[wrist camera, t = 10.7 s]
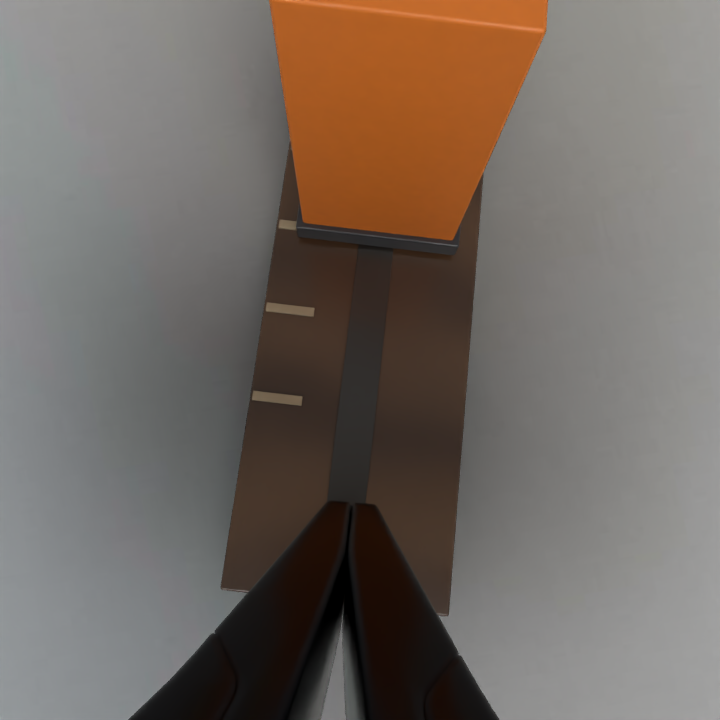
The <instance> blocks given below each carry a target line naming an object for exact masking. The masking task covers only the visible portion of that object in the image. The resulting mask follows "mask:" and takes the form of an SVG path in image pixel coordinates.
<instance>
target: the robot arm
mask: <svg viewBox="0 0 720 720" xmlns="http://www.w3.org/2000/svg"><path fill="white" fill-rule="evenodd" d="M343 605H344V606H343ZM342 616H343V623H342ZM341 624H342V644H343V668H344V691H345V715H346V720H499V718H498V717H497V715H496V714H495V712H494V711H493V709H492V708H491V706H490V704H489V703H488V701H487V699H486V698H485V696H484V694H483V693H482V691H481V689H480V688H479V686H478V684H477V683H476V681H475V679H474V678H473V676H472V674H471V672H470V671H469V669H468V667H467V665H466V663H465V662H464V660H463V658H462V657H461V656H460V655H458V654H459V653H458V650H457V649H456V647H455V645H454V643H453V641H452V640H451V638H450V636H449V634H448V632H447V631H446V629H445V627H444V625H443V623H442V622H441V620H440V618H439V616H438V614H437V613H436V611H435V609H434V607H433V606H432V604H431V602H430V600H429V598H428V597H427V595H426V593H425V591H424V589H423V588H422V586H421V584H420V582H419V580H418V579H417V577H416V575H415V573H414V571H413V570H412V568H411V566H410V564H409V562H408V561H407V559H406V557H405V555H404V553H403V552H402V550H401V548H400V546H399V544H398V543H397V541H396V539H395V537H394V535H393V534H392V532H391V530H390V528H389V527H388V525H387V523H386V521H385V519H384V518H383V516H382V514H381V512H380V510H379V509H378V507H377V506H376V505H375V504H369V503H357V502H356V503H353V505H352V509H351V503H349V502H345V501H333V500H330V501H327V502H326V503H325V504H324V505H323V507H322V508H321V509H320V510H319V511H318V512H317V513H316V515H315V516H314V517H313V518H312V519H311V520H310V522H309V523H308V524H307V525H306V526H305V527H304V528H303V530H302V531H301V532H300V533H299V534H298V535H297V537H296V538H295V539H294V540H293V541H292V542H291V543H290V545H289V546H288V547H287V548H286V549H285V550H284V552H283V553H282V554H281V555H280V556H279V557H278V558H277V560H276V561H275V562H274V563H273V564H272V565H271V566H270V568H269V569H268V570H267V571H266V572H265V573H264V575H263V576H262V577H261V578H260V579H259V580H258V581H257V583H256V584H255V585H254V586H253V587H252V588H251V590H250V591H249V592H248V593H247V594H246V595H245V596H244V598H243V599H242V600H241V601H240V602H239V603H238V605H237V606H236V607H235V608H234V609H233V610H232V611H231V613H230V614H229V615H228V616H227V617H226V618H225V620H224V621H223V622H222V623H221V624H220V625H219V626H218V628H217V629H216V630H215V634H214V633H213V634H211V635H210V636H209V637H208V638H207V639H206V640H205V642H204V643H203V644H202V645H201V646H200V647H199V649H198V650H197V651H196V652H195V653H194V654H193V655H192V656H191V657H190V659H189V660H188V661H187V662H186V663H185V664H184V665H183V666H182V667H181V668H180V669H179V670H178V671H177V673H176V674H175V675H174V676H173V677H172V678H171V679H170V680H169V681H168V682H167V683H166V684H165V685H164V686H163V687H162V688H161V689H160V690H159V691H158V692H157V693H156V694H155V695H154V696H152V697H151V698H150V699H149V700H148V701H147V702H146V703H145V704H144V705H143V706H142V707H141V708H140V709H139V710H138V711H137V712H136V713H135V714H134V715H133V716H131V717H130V718H129V719H128V720H321V715H322V711H323V707H324V702H325V698H326V693H327V689H328V685H329V680H330V676H331V671H332V667H333V662H334V658H335V654H336V649H337V645H338V640H339V635H340V630H341Z"/></svg>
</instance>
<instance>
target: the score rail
mask: <svg viewBox="0 0 720 720" xmlns="http://www.w3.org/2000/svg"><path fill="white" fill-rule="evenodd" d="M482 185H483V174H482V176H481V179H480V181H479V183H478V185H477V188H476V190H475V192H474V194H473V197H472V199H471V201H470V203H469V206H468V208H467V210H466V212H465V215H464V217H463V219H462V221H461V229H460V241H459V247H458V249H457V251H456V253H455V255H446V254H438V253H429V252H421V251H412V250H404V249H396V248H387V247H379V246H370V245H362V244H354V243H345V242H337V241H328V240H320V239H312V238H303V237H298V235H297V230H296V222H297V215H298V209H299V202H300V200H299V193H298V187H297V180H296V173H295V167H294V160H293V154H292V147H291V141H290V143H289V150H288V156H287V163H286V169H285V175H284V182H283V188H282V195H281V201H280V208H279V214H278V220H277V227H276V233H275V240H274V246H273V253H272V259H271V265H270V272H269V278H268V285H267V291H266V298H265V304H264V311H263V317H262V323H261V330H260V336H259V343H258V349H257V356H256V362H255V368H254V375H253V381H252V388H251V394H250V401H249V407H248V413H247V420H246V426H245V433H244V439H243V446H242V452H241V458H240V465H239V471H238V478H237V484H236V491H235V497H234V504H233V510H232V516H231V523H230V529H229V536H228V542H227V549H226V555H225V561H224V568H223V574H222V581H221V589H222V590H227V591H236V592H244V593H248V592H249V591H250V590H251V588H252V587H253V586H254V585H255V584H256V583H257V581H258V580H259V579H260V578H261V577H262V576H263V575H264V573H265V572H266V571H267V570H268V569H269V568H270V566H271V565H272V564H273V563H274V562H275V561H276V560H277V558H278V557H279V556H280V555H281V554H282V553H283V552H284V550H285V549H286V548H287V547H288V546H289V545H290V543H291V542H292V541H293V540H294V539H295V538H296V537H297V535H298V534H299V533H300V532H301V531H302V530H303V528H304V527H305V526H306V525H307V524H308V523H309V522H310V520H311V519H312V518H313V517H314V516H315V515H316V513H317V512H318V511H319V510H320V509H321V508H322V507H323V505H324V504H325V503H326V502H327V501H330V500H333V501H345V502H349V503H351V509H352V505H353V503H356V502H357V503H369V504H375V505H376V506H377V507H378V509H379V510H380V512H381V514H382V516H383V518H384V519H385V521H386V523H387V525H388V527H389V528H390V530H391V532H392V534H393V535H394V537H395V539H396V541H397V543H398V544H399V546H400V548H401V550H402V552H403V553H404V555H405V557H406V559H407V561H408V562H409V564H410V566H411V568H412V570H413V571H414V573H415V575H416V577H417V579H418V580H419V582H420V584H421V586H422V588H423V589H424V591H425V593H426V595H427V597H428V598H429V600H430V602H431V604H432V606H433V607H434V609H435V611H436V613H437V614H438V615H441V616H448V614H449V605H450V592H451V580H452V567H453V554H454V541H455V529H456V516H457V503H458V490H459V478H460V465H461V452H462V439H463V427H464V414H465V401H466V388H467V376H468V363H469V350H470V337H471V325H472V312H473V299H474V286H475V274H476V261H477V248H478V236H479V223H480V210H481V197H482Z"/></svg>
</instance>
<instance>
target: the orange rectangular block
mask: <svg viewBox="0 0 720 720" xmlns="http://www.w3.org/2000/svg"><path fill="white" fill-rule="evenodd" d="M269 3H270V9H271V16H272V23H273V29H274V36H275V42H276V49H277V55H278V62H279V68H280V75H281V82H282V88H283V95H284V101H285V108H286V114H287V121H288V128H289V134H290V141H291V147H292V154H293V160H294V167H295V173H296V180H297V187H298V193H299V200H300V202H299V209H298V215H297V222H296V230H297V235H298V237H303V238H312V239H320V240H328V241H337V242H345V243H354V244H362V245H370V246H379V247H387V248H396V249H404V250H412V251H421V252H429V253H438V254H446V255H455V253H456V251H457V249H458V247H459V241H460V229H461V221H462V219H463V217H464V215H465V212H466V210H467V208H468V206H469V203H470V201H471V199H472V197H473V194H474V192H475V190H476V188H477V185H478V183H479V181H480V179H481V176H482V174H483V172H484V170H485V167H486V165H487V163H488V161H489V158H490V156H491V154H492V152H493V149H494V147H495V145H496V143H497V140H498V138H499V136H500V134H501V131H502V129H503V127H504V125H505V122H506V120H507V118H508V116H509V113H510V111H511V109H512V107H513V104H514V102H515V100H516V98H517V95H518V93H519V91H520V89H521V87H522V84H523V82H524V80H525V78H526V75H527V73H528V71H529V69H530V66H531V64H532V62H533V60H534V57H535V55H536V53H537V51H538V48H539V46H540V44H541V42H542V39H543V37H544V35H545V33H546V25H547V8H548V0H269Z"/></svg>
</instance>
